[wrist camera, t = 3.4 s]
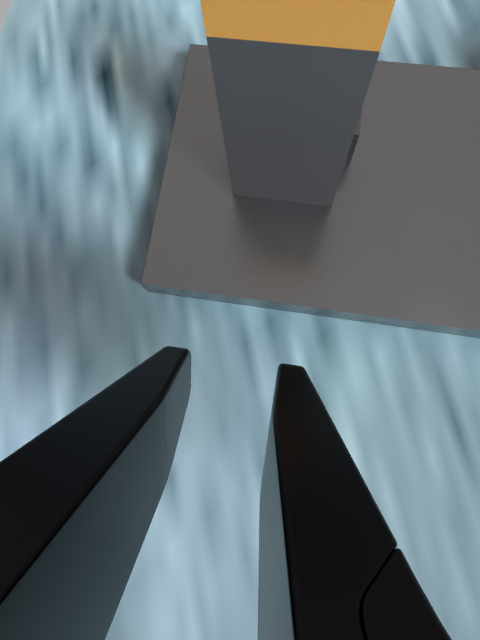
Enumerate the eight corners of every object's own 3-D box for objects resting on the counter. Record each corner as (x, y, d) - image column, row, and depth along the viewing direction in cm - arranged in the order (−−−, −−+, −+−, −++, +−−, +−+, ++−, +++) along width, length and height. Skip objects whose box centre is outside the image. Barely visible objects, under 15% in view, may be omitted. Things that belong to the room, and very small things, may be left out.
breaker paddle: (331, 206, 18) (399, -13, 9) (233, 194, 19) (195, -28, 9) (336, 169, 18) (406, -81, 9) (239, 158, 19) (209, -93, 9)
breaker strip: (713, 370, 17) (840, 359, 13) (149, 291, 19) (119, 261, 15) (704, 109, 19) (812, 35, 15) (194, 62, 21) (178, -14, 17)
